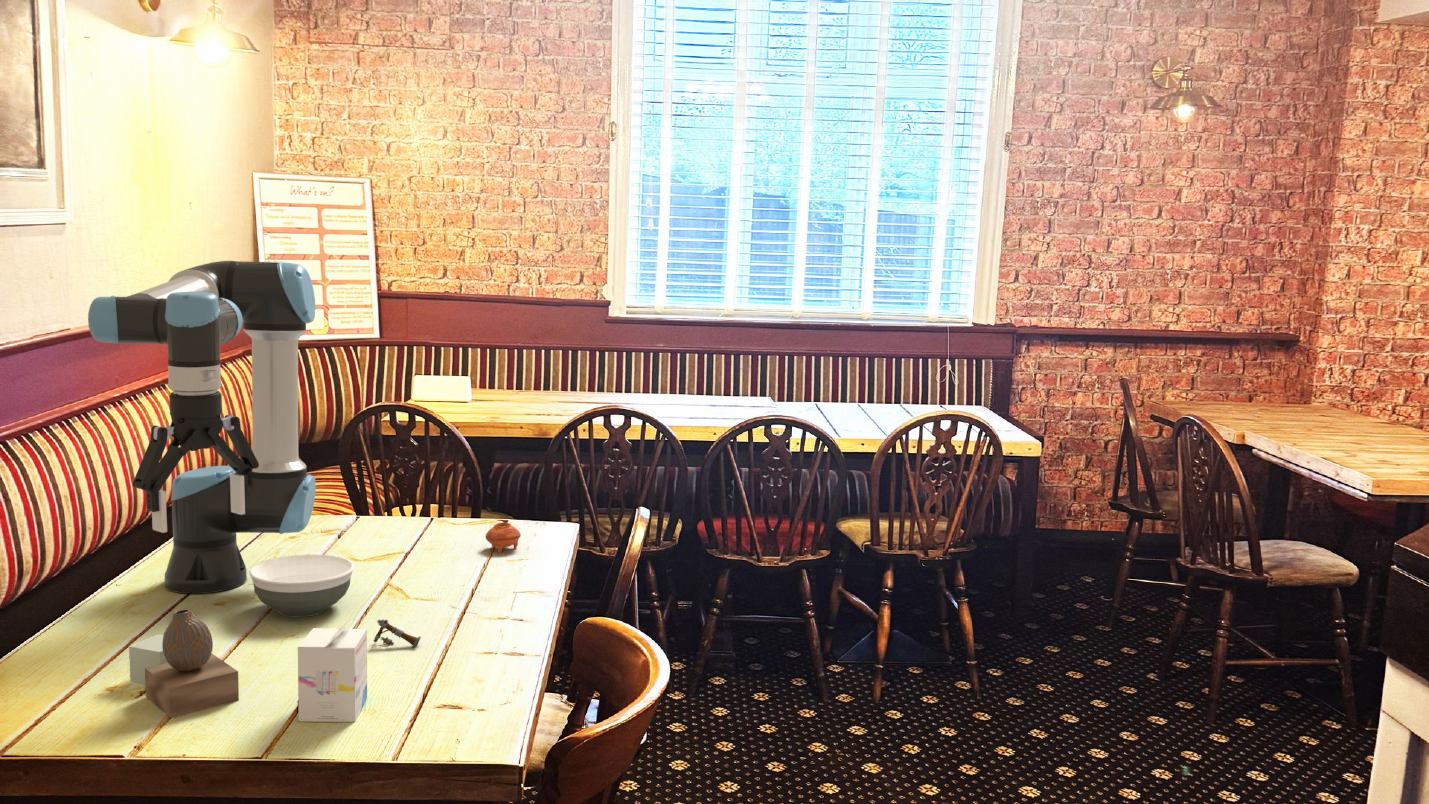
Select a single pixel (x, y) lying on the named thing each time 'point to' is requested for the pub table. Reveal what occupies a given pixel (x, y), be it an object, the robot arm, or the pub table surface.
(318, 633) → the ink box
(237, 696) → the plinth
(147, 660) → the sage cube
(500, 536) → the pot
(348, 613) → the pub table surface
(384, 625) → the wooden post with brackets
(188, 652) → the vase
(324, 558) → the bowl
